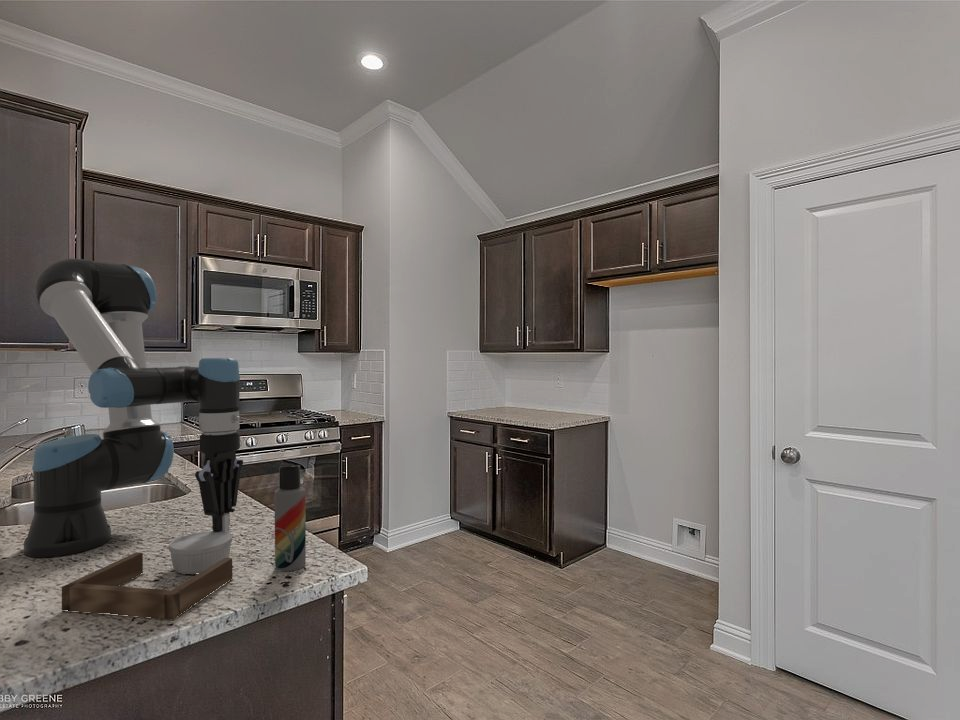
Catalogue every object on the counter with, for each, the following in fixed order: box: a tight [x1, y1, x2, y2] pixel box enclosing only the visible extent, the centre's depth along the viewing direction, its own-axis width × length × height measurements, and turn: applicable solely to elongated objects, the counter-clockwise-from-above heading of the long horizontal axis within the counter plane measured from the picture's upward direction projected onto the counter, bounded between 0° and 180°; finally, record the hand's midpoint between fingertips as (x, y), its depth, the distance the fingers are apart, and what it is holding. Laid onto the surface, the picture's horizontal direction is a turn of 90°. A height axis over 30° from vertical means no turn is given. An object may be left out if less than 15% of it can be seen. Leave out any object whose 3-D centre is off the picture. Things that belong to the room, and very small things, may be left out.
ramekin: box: [168, 530, 233, 575], centre depth 105 cm, size 11×11×5 cm
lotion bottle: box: [274, 464, 307, 572], centre depth 104 cm, size 6×6×20 cm
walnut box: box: [61, 552, 233, 620], centre depth 92 cm, size 20×15×4 cm
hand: (221, 545), depth 111 cm, fingers closed
